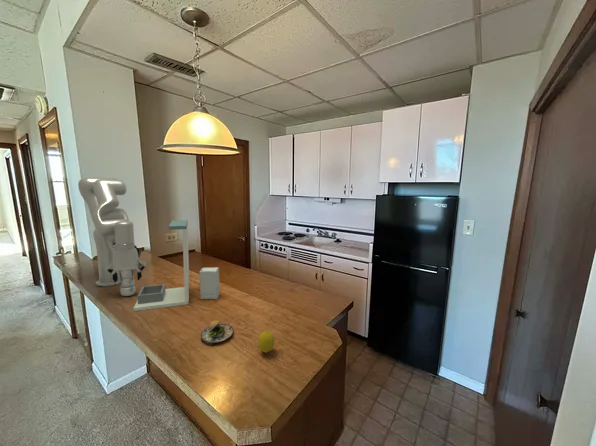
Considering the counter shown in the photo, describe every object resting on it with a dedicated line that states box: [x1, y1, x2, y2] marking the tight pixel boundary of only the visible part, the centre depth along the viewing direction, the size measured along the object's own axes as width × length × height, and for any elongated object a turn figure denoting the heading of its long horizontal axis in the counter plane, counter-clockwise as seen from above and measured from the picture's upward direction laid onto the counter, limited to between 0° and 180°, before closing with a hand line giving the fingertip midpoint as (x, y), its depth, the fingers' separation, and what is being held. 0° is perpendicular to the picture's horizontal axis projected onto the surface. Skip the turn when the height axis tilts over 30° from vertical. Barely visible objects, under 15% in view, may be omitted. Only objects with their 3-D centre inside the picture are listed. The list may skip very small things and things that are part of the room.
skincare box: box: [198, 267, 221, 300], centre depth 125 cm, size 8×6×15 cm
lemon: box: [257, 330, 275, 354], centre depth 85 cm, size 6×6×8 cm
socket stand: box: [132, 219, 190, 312], centre depth 119 cm, size 18×22×38 cm
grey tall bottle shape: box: [119, 268, 137, 297], centre depth 123 cm, size 6×7×20 cm
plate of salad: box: [200, 319, 234, 347], centre depth 94 cm, size 12×12×8 cm
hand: (127, 280), depth 123 cm, fingers open, 9 cm apart
